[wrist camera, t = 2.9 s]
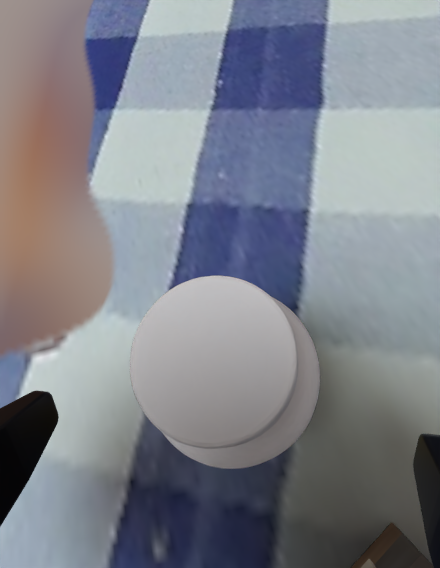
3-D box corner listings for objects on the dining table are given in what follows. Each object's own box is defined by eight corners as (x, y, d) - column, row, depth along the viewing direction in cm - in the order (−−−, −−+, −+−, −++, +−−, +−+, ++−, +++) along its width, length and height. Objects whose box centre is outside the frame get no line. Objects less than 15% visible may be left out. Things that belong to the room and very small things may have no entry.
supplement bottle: (330, 429, 16) (376, 444, 7) (216, 466, 16) (119, 527, 7) (286, 318, 18) (277, 219, 9) (186, 353, 18) (82, 291, 9)
